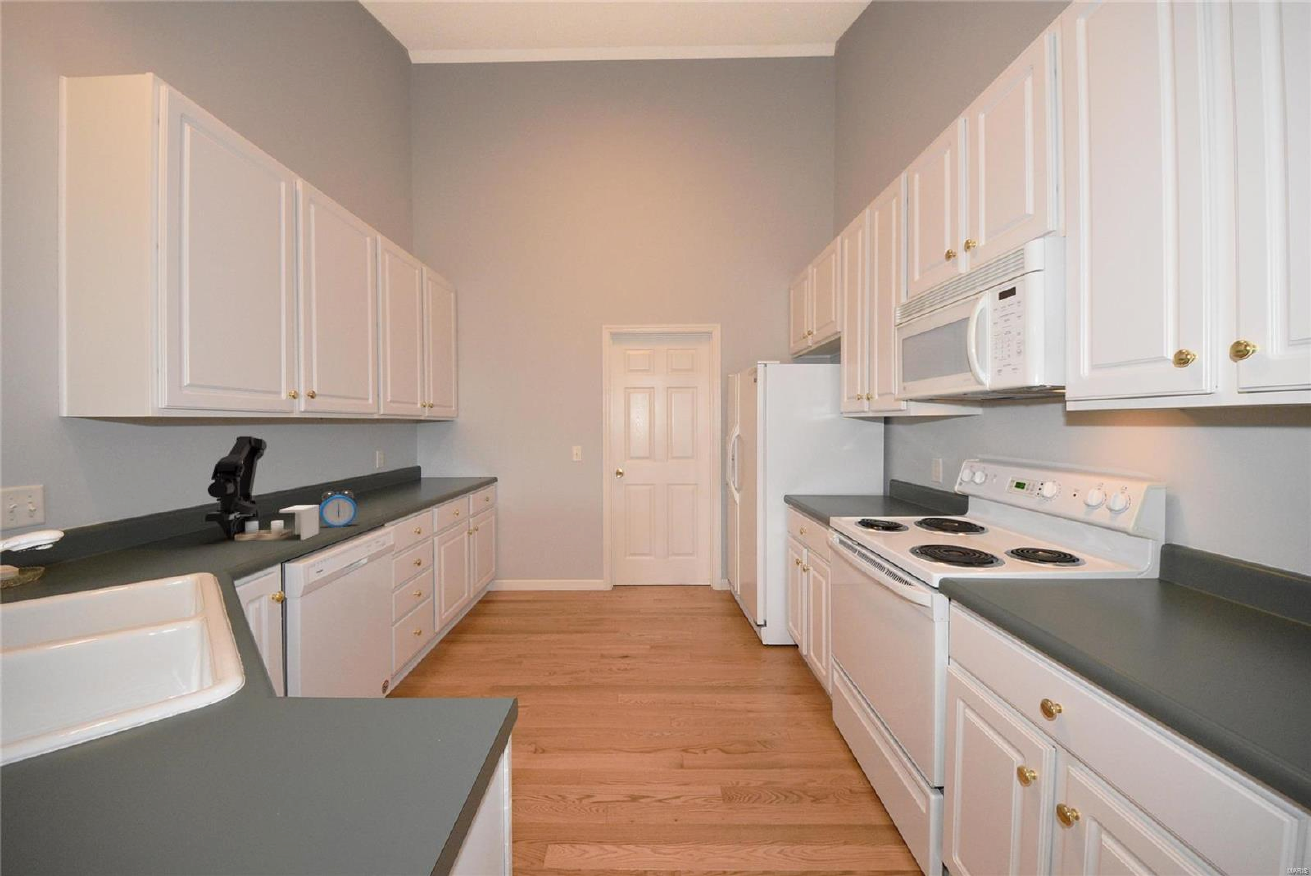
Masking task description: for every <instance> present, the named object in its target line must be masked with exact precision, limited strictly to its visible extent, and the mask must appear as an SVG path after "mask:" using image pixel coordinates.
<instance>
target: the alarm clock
mask: <svg viewBox="0 0 1311 876" xmlns="http://www.w3.org/2000/svg"><path fill="white" fill-rule="evenodd" d="M336 493H337V494H336ZM336 493H335V492H334V491H331V490H330V491H329V490H328V491H325V492H324V493H323V494H322V496H321V499H322V502H321V504H320V505H319V518H321V520H322V522H323V523H324V524H325V525H327V526H328V528H331V527H332V528H340V527H341V528H342V527H345V526H347V527H349V524H351V523H352V522H353V521H354V520H355V518H356V516H357V512H358V510H357V509H358V508H357V504H356V503H355V501H354V500H353V499H354V497H355V496H354V493H353V492H352V491H351V490H342V491H341V494H340V491H337V492H336Z"/></svg>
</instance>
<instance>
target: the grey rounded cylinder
mask: <svg viewBox="0 0 1311 876" xmlns="http://www.w3.org/2000/svg"><path fill="white" fill-rule="evenodd" d="M258 531H259V520H256V521H247V522H245V535H253V534H258Z"/></svg>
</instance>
